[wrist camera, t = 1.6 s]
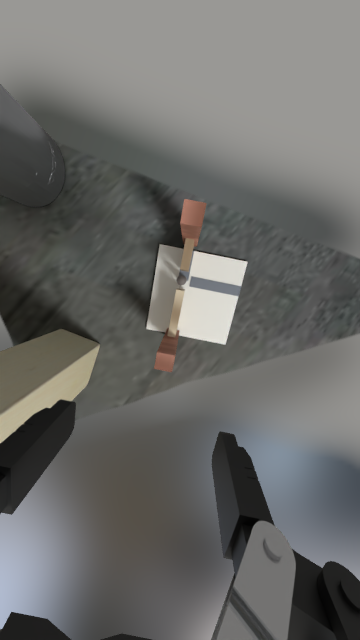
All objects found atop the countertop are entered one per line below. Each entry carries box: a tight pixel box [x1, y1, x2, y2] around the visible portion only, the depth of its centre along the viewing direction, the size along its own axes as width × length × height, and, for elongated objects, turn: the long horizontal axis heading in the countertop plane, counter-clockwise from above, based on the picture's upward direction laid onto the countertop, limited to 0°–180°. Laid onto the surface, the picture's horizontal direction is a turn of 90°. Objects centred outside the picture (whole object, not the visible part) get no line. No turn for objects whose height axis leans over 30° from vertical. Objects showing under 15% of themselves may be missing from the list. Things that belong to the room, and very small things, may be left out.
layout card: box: [146, 244, 247, 344], centre depth 26 cm, size 12×12×1 cm
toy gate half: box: [154, 288, 185, 372], centre depth 22 cm, size 8×2×9 cm, turn 169°
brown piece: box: [176, 199, 206, 285], centre depth 20 cm, size 2×7×10 cm, turn 169°
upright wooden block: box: [0, 329, 100, 443], centre depth 19 cm, size 8×7×21 cm
